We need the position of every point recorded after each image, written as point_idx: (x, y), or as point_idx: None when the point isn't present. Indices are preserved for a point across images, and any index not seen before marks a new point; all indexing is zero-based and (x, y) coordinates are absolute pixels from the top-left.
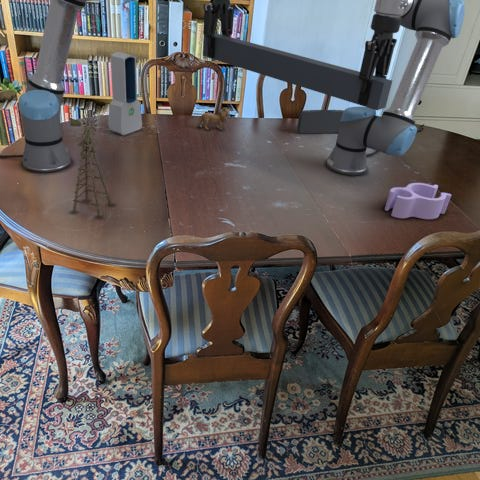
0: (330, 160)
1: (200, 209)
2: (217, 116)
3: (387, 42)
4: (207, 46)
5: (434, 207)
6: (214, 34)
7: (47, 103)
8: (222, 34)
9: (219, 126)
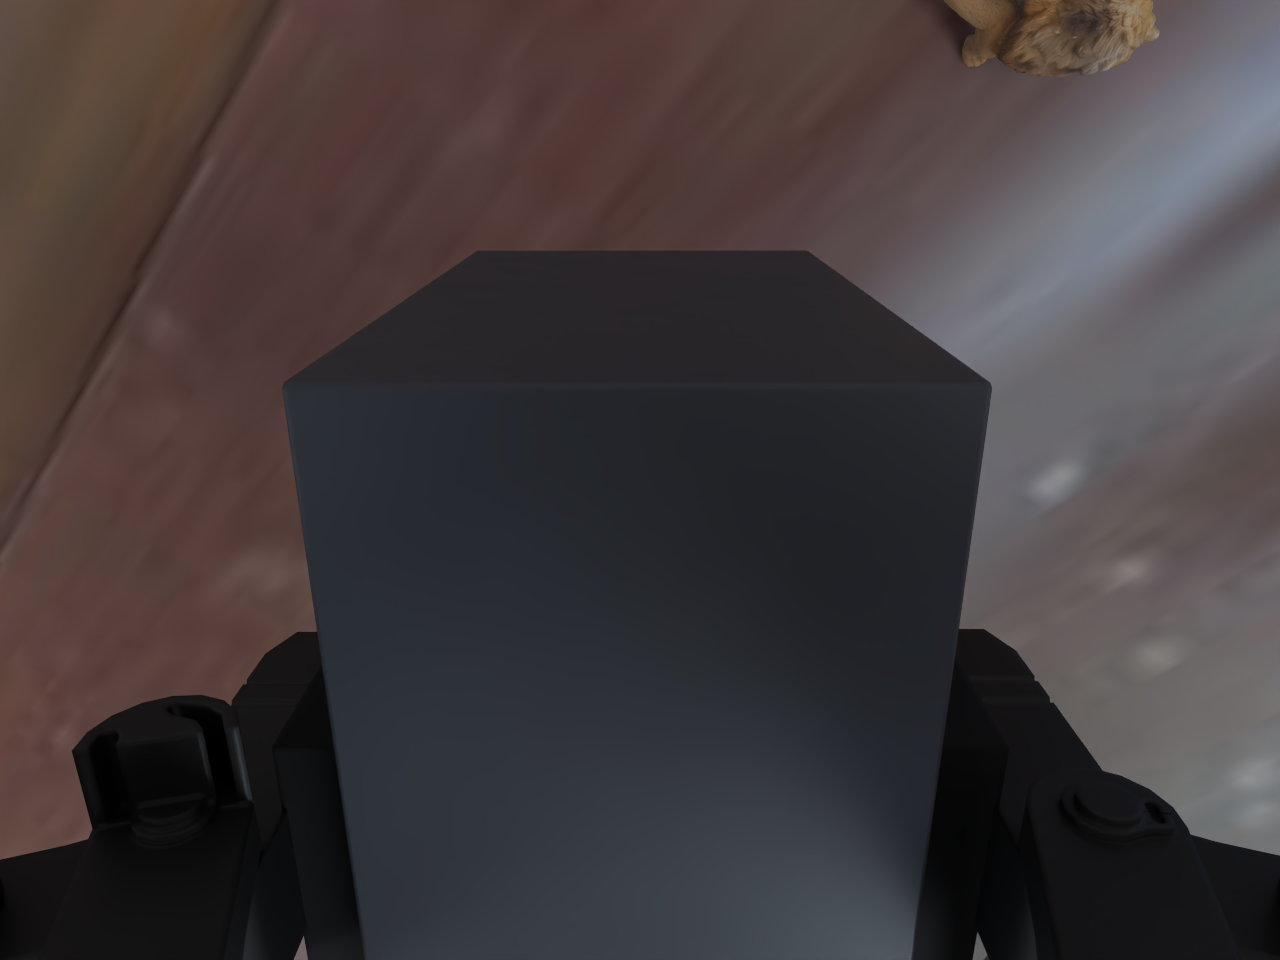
0: (983, 953)
1: (37, 835)
2: (985, 11)
3: None
4: (292, 637)
5: None
6: (649, 738)
7: None
8: (1021, 834)
9: (969, 43)
